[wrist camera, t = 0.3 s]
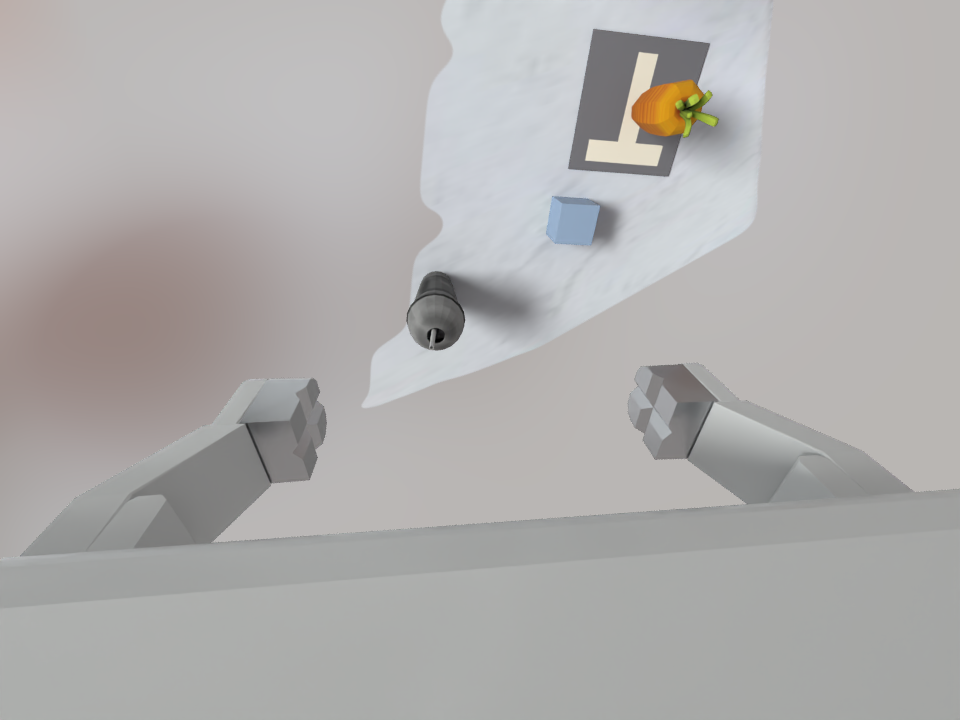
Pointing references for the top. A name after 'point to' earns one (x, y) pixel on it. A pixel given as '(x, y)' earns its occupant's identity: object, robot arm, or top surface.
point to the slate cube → (572, 220)
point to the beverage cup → (435, 313)
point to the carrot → (672, 109)
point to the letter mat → (628, 101)
